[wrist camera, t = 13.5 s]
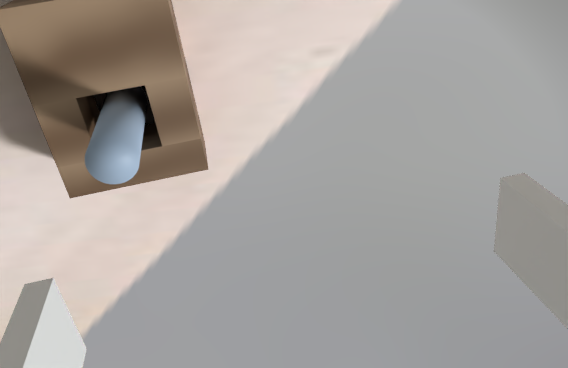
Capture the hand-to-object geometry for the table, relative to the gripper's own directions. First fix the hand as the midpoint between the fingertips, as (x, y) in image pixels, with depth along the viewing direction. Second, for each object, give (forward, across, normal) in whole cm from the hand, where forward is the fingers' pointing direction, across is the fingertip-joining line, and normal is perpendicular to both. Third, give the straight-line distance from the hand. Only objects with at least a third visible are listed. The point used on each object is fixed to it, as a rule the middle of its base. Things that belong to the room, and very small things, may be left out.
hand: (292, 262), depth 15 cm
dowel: (+27, -8, -2) cm, 28 cm away
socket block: (+27, -8, -1) cm, 28 cm away
